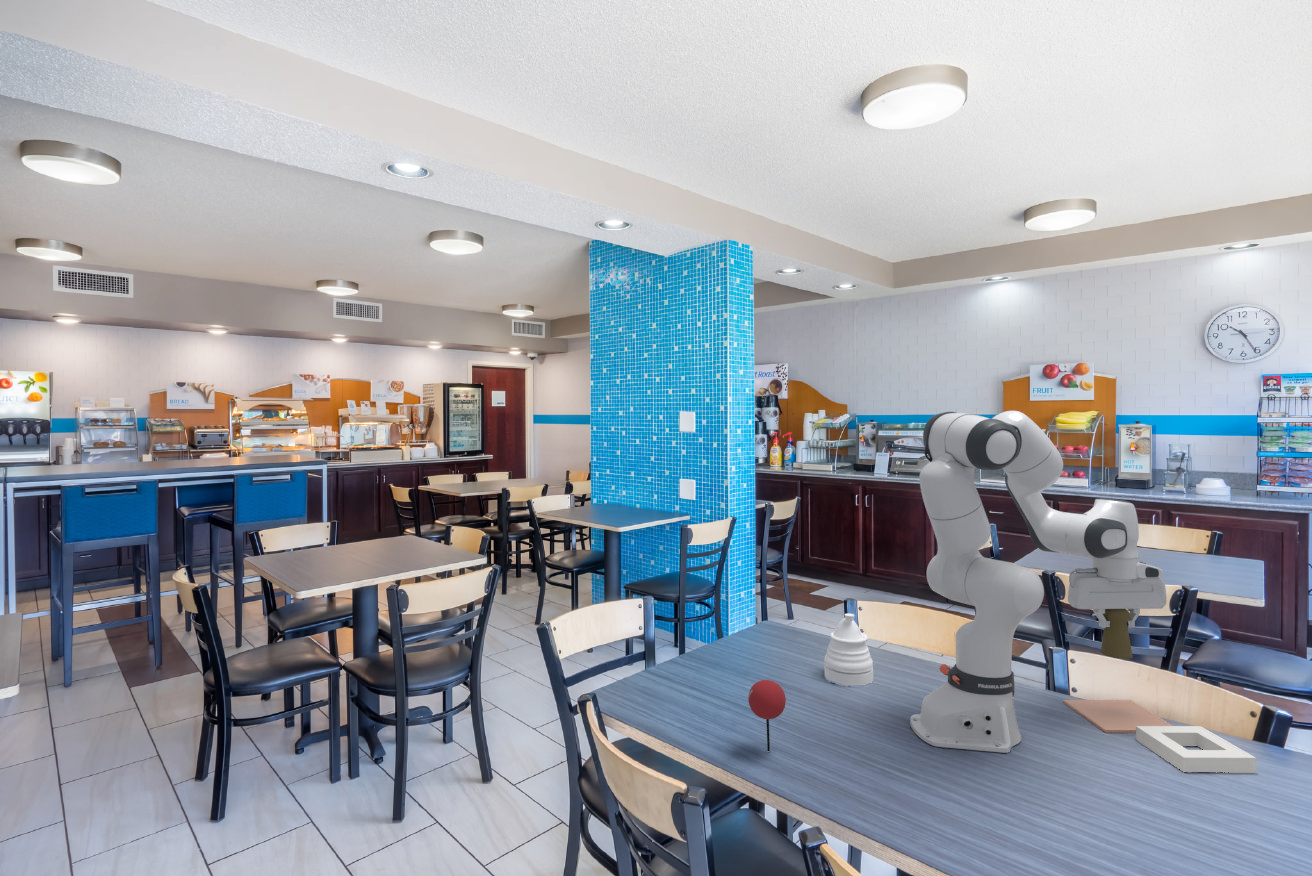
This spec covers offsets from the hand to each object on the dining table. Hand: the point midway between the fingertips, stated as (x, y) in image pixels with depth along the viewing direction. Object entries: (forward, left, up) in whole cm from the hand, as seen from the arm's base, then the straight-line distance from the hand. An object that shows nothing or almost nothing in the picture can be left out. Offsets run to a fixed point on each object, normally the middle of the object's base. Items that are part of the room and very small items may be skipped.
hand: (1116, 627), depth 148 cm
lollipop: (-83, -17, -21) cm, 87 cm away
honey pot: (-56, +24, -21) cm, 64 cm away
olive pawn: (0, 0, -6) cm, 7 cm away
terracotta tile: (0, 0, -21) cm, 21 cm away
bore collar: (+3, -18, -21) cm, 28 cm away
